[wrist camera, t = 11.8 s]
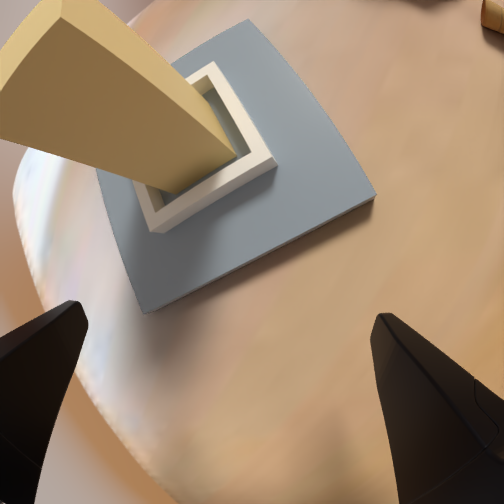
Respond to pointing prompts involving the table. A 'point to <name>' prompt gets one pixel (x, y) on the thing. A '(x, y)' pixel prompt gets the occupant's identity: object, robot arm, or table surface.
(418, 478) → the robot arm
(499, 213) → the table surface
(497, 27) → the kendama
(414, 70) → the table surface
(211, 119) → the pillar
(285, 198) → the baseplate
